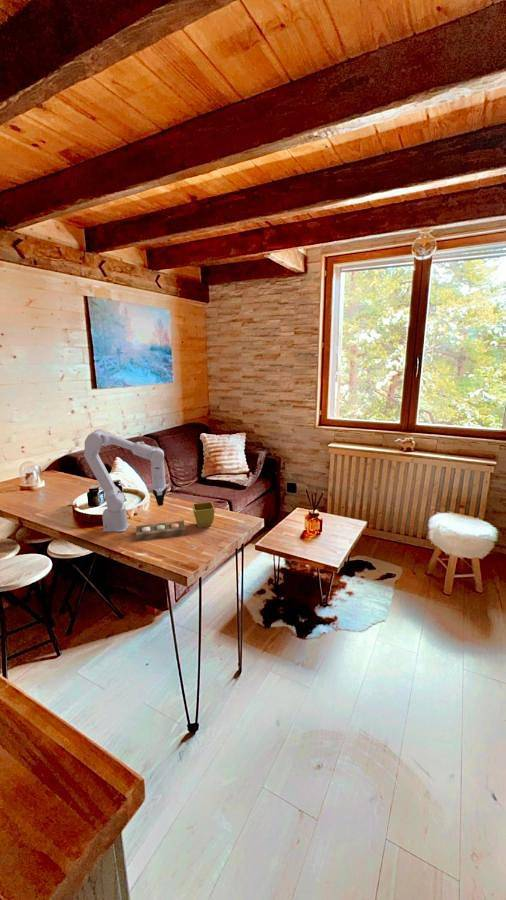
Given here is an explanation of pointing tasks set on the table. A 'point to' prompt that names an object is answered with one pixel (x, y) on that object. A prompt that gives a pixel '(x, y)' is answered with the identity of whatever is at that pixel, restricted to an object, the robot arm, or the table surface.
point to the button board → (160, 531)
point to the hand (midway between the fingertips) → (160, 505)
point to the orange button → (174, 525)
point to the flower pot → (204, 513)
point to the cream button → (145, 529)
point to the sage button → (160, 527)
